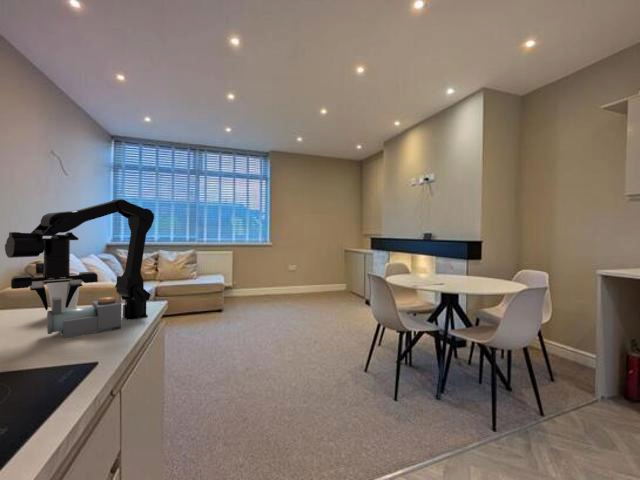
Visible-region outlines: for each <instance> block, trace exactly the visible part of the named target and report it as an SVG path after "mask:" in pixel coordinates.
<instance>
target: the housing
mask: <svg viewBox="0 0 640 480" xmlns="http://www.w3.org/2000/svg"><path fill="white" fill-rule="evenodd" d="M92 306H94V307H95V312H96V316H92V317H85V318H78V319H71V320H65V321H63V331H59V333H60V334H61V336H62V338H63V340H68V339H73V338H78V337H84V336H91V335H95V334H101V333H106V332H113V331H117V330H121V329H122V303H121V302H119V301H118V300H117V299H115V303H111V304H103V305H99V304H98V300H93V301H92V303H91V307H92Z"/></svg>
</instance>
